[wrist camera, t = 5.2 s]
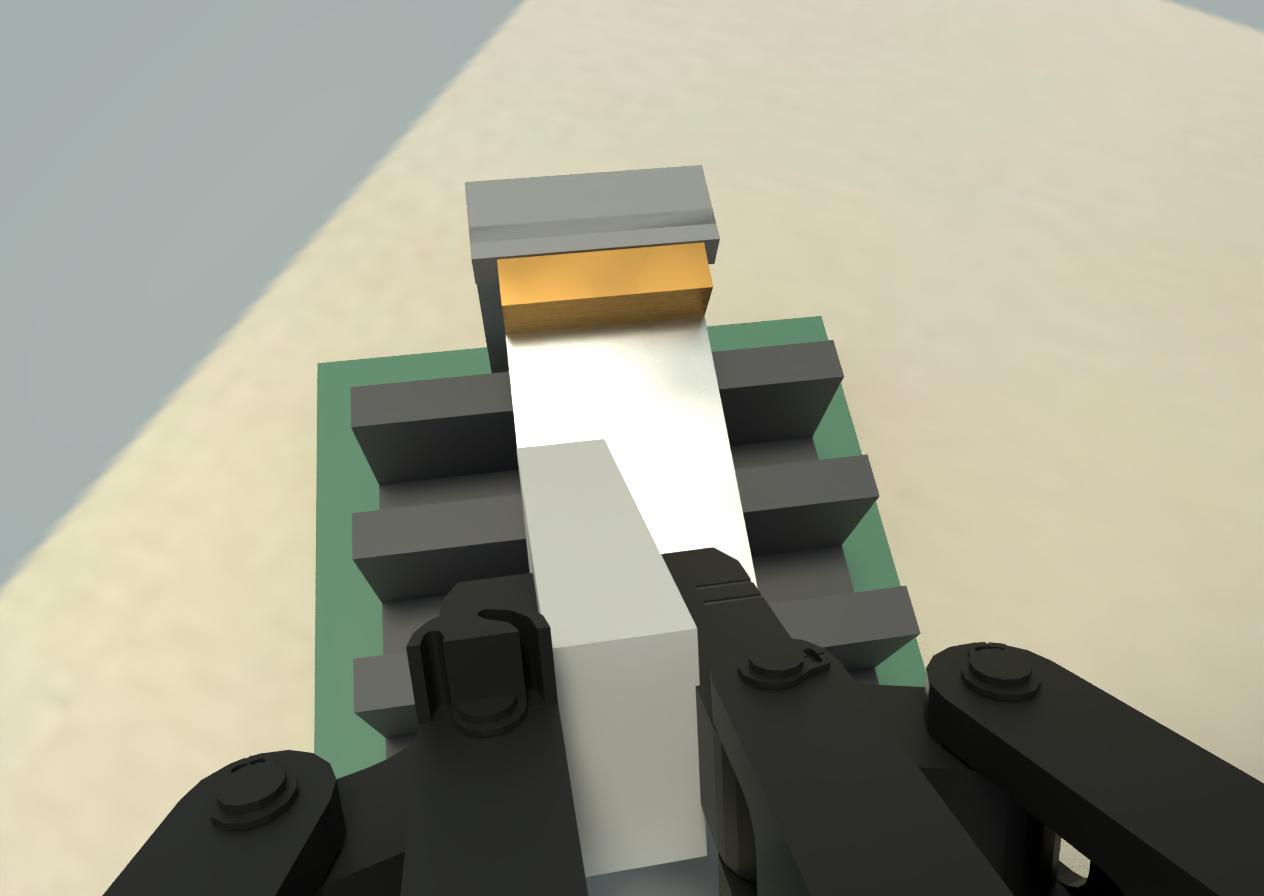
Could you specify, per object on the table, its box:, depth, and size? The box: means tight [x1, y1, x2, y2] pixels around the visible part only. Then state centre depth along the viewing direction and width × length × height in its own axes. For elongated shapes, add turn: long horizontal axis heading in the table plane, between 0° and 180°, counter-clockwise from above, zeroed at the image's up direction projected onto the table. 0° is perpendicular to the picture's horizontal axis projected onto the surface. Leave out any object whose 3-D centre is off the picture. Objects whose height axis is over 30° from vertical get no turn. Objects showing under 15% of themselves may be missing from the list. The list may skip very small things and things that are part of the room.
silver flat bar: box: [497, 243, 757, 896], centre depth 15 cm, size 4×15×2 cm, turn 9°
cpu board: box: [314, 165, 926, 779], centre depth 19 cm, size 15×20×10 cm
